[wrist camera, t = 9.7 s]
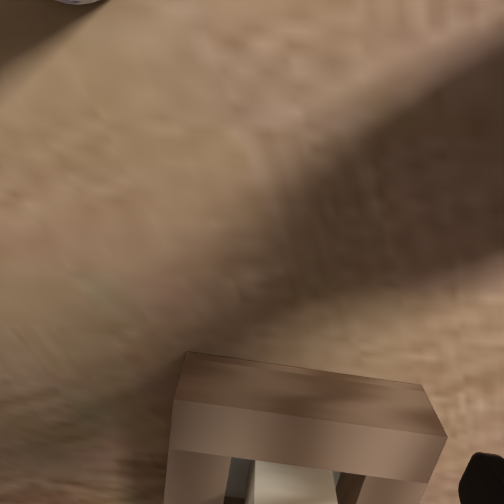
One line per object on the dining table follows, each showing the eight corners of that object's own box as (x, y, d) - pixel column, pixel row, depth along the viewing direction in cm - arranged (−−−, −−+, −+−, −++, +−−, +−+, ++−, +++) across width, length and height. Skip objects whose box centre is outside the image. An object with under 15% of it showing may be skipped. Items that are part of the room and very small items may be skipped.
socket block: (421, 385, 22) (447, 437, 19) (363, 538, 27) (376, 601, 24) (187, 351, 22) (173, 398, 19) (169, 513, 27) (156, 573, 24)
